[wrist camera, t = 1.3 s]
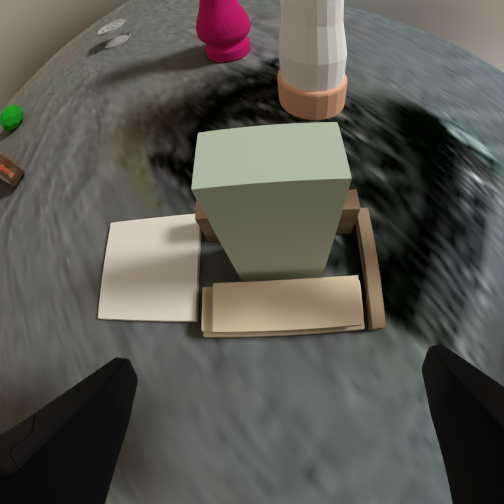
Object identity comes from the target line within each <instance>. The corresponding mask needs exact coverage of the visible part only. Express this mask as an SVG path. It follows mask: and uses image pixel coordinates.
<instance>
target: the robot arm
mask: <svg viewBox="0 0 504 504" xmlns="http://www.w3.org/2000/svg"><path fill="white" fill-rule="evenodd" d="M422 374H423V379H424V383H425V388H426V393H427V398H428V403H429V408H430V413H431V417H432V420H433V424H434V427H435V431H436V434H437V438H438V441H439V445H440V449H441V453H442V456H443V460H444V465H445V469H446V473H447V477H448V482H449V487H450V492H451V497H452V502H453V504H504V387H503V386H502V385H500V384H499V383H498V382H496V381H495V380H493V379H492V378H490V377H489V376H488V375H486V374H485V373H483V372H482V371H480V370H479V369H477V368H476V367H474V366H473V365H472V364H470V363H469V362H467V361H466V360H464V359H463V358H461V357H460V356H458V355H457V354H455V353H454V352H452V351H451V350H449V349H448V348H446V347H445V346H443V345H435V346H431V347H429V349H428V351H427V354H426V357H425V360H424V363H423V366H422ZM137 382H138V380H137V375H136V373H135V371H134V369H133V367H132V364H131V362H130V360H129V359H127V358H122V357H116V358H114V359H113V360H111V361H110V362H108V363H107V364H105V365H104V366H103V367H101V368H100V369H98V370H97V371H95V372H94V373H92V374H91V375H90V376H88V377H87V378H85V379H84V380H82V381H81V382H79V383H78V384H76V385H75V386H74V387H72V388H71V389H69V390H68V391H66V392H65V393H63V394H62V395H60V396H59V397H58V398H56V399H55V400H53V401H52V402H50V403H49V404H47V405H46V406H44V407H43V408H41V409H40V410H39V411H37V412H36V413H34V414H33V415H31V416H30V417H28V418H27V419H25V420H24V421H22V422H21V423H19V424H17V425H16V426H14V427H12V428H11V429H9V430H7V431H5V432H4V433H2V434H0V504H105V502H106V498H107V494H108V491H109V487H110V484H111V480H112V476H113V473H114V470H115V466H116V463H117V459H118V456H119V453H120V450H121V446H122V443H123V440H124V437H125V434H126V431H127V427H128V424H129V420H130V416H131V411H132V406H133V401H134V397H135V392H136V387H137Z"/></svg>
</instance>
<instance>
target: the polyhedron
mask: <svg viewBox="0 0 504 504" xmlns="http://www.w3.org/2000/svg"><path fill="white" fill-rule="evenodd" d="M22 120H23V112H22V110H21V108H20V107H19V106H17V105H11V106H8V107H6V108H5V109H4V110H3V112H2V114H1V117H0V123H1V125H2V126H3V128H4V129H5V130H8V131H10V130H13V129H15V128H17V127H19V125H20V124H21V122H22Z"/></svg>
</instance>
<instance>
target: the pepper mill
mask: <svg viewBox="0 0 504 504" xmlns="http://www.w3.org/2000/svg"><path fill="white" fill-rule="evenodd" d="M250 28H251V24H250V21H249V17H248V15H247V13H246V12H245V10H244V9H243V8H242V6H241V5H240V4H239V2H238V1H237V0H200V5H199V12H198V17H197V21H196V31H197V35H198V38H199V39H200V40H201V41H202V42H204V43H206V45H205V50H206V54H207V57H208V58H209V59H210V60H212V61H214V62H230V61H235V60H238V59H240V58H242V57H244V56H246V55H247V54H248V53H249V52H250V50H251V47H250V41H249V38H248V37H247V36H246V35H247V34H248V33H249V31H250Z"/></svg>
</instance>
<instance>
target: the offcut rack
mask: <svg viewBox="0 0 504 504" xmlns="http://www.w3.org/2000/svg"><path fill="white" fill-rule="evenodd" d="M195 220H196V222H197V224H198V225H199V227H200V228H201V230H202V231H203V233H204V235H205V236H206V238H207V239H208V241H209V242H210V241H219V239H218V237H217V236H216V234H215V232H214V230H213V228H212V226H211V225H210V223H209V221H208V219H207V217H206V215H205V214H204V212H203V210H202V208H201V206H200V204H199V203H198V201H197V200H196V211H195ZM354 224H355V226H356V232H357V238H358V244H359V251H360V258H361V265H362V273H363V281H364V289H365V298H366V308H367V319H368V331H370V330H379V329H383V328H385V327H386V325H385V315H384V305H383V297H382V289H381V281H380V274H379V267H378V260H377V254H376V248H375V242H374V237H373V231H372V226H371V221H370V216H369V211H368V208H360V204H359V199H358V195H357V190H348V193H347V197H346V200H345V204H344V207H343V211H342V214H341V218H340V221H339V224H338V228H337V231H336V234H343V233H351V231H352V229H353V226H354ZM363 329H365V328H364V316H363V305H362V295H361V286H360V280H358V275H354V276H340V277H325V278H309V279H292V280H274V281H254V282H231V283H213V287H203V292H202V331H203V336H204V337H268V336H291V335H308V334H323V333H335V332H347V331H357V330H363Z"/></svg>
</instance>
